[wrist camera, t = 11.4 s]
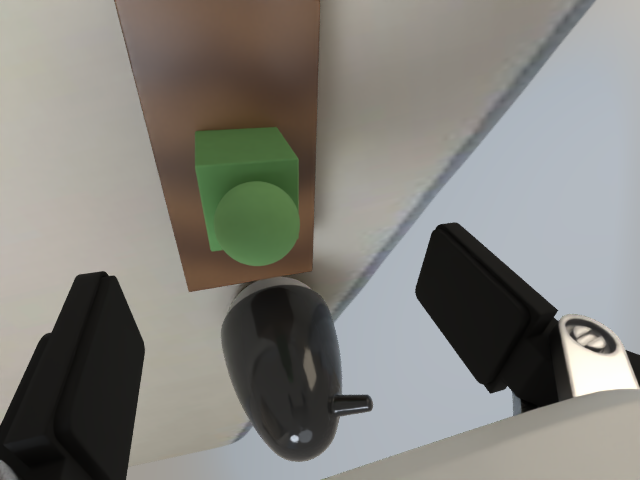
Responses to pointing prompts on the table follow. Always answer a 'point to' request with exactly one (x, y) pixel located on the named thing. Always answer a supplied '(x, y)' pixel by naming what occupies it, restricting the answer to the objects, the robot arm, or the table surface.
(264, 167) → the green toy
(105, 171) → the table surface
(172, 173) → the bench
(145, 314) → the table surface
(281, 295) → the pump dispenser
